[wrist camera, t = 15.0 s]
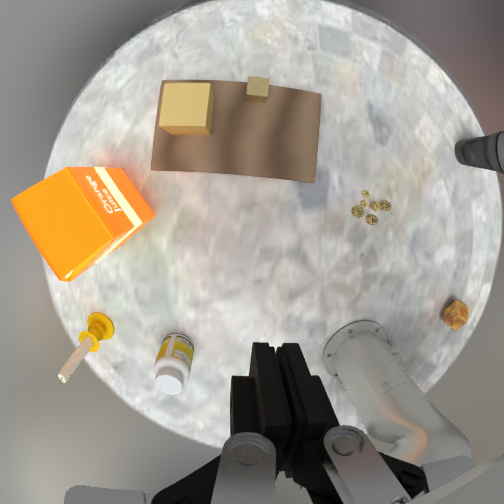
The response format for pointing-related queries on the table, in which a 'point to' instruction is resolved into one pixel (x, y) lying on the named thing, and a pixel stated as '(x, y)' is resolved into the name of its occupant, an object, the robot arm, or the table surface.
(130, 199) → the orange juice
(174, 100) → the tan rectangular block
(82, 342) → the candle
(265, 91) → the wooden stub
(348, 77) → the table surface
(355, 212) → the set of tan pieces
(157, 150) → the board
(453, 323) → the pyrite
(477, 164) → the beverage cup
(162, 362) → the supplement bottle
